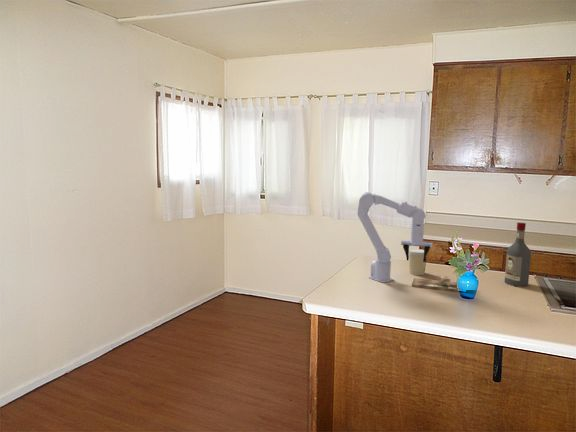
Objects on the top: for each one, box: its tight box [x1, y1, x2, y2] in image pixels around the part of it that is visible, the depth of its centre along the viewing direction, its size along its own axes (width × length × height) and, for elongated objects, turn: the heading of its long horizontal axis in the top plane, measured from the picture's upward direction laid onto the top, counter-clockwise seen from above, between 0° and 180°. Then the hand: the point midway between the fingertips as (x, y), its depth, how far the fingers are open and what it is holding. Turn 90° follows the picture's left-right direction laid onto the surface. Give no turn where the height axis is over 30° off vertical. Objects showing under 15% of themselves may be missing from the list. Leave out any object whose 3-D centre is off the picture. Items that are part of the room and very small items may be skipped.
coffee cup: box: [408, 248, 428, 276], centre depth 230 cm, size 9×9×12 cm
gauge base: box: [411, 277, 459, 293], centre depth 207 cm, size 24×12×5 cm, turn 69°
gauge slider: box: [440, 275, 451, 286], centre depth 205 cm, size 4×8×3 cm, turn 159°
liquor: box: [504, 222, 532, 287], centre depth 211 cm, size 9×9×30 cm
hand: (415, 260), depth 213 cm, fingers open, 7 cm apart
